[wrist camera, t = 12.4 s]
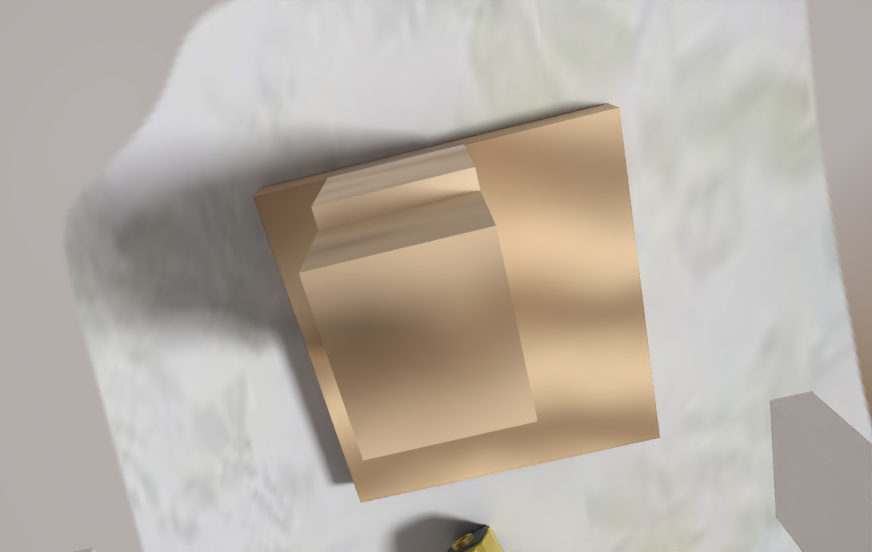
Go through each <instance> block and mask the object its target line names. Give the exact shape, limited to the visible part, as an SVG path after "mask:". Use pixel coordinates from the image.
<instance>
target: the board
mask: <svg viewBox="0 0 872 552" xmlns="http://www.w3.org/2000/svg"><path fill="white" fill-rule="evenodd" d="M459 142H463V143H464V145H465V147H466V149H467V151H468V153H469V155H470V157H471V159H472V161H473V163H474V165H475V168H476V173H477V177H478V182H479V187H480V191H481V193H482V195H483V198H484V200H485V202H486V204H487V206H488V209H489V211H490V213H491V215H492V218H493V220H494V222H495V224H496V228H497V232H498V237H499V242H500V247H501V251H502V256H503V261H504V265H505V270H506V275H507V279H508V284H509V289H510V294H511V298H512V303H513V308H514V312H515V317H516V322H517V327H518V331H519V336H520V341H521V345H522V350H523V355H524V360H525V364H526V369H527V374H528V378H529V383H530V388H531V393H532V397H533V402H534V407H535V411H536V416H537V422H533V423H528V424H524V425H519V426H515V427H510V428H506V429H501V430H497V431H492V432H488V433H483V434H479V435H475V436H470V437H466V438H461V439H457V440H452V441H448V442H443V443H439V444H434V445H430V446H425V447H421V448H417V449H412V450H408V451H403V452H399V453H394V454H390V455H385V456H381V457H376V458H372V459H368V460H363V458H362V455H361V452H360V450H359V447H358V444H357V441H356V438H355V435H354V432H353V429H352V426H351V423H350V420H349V418H348V415H347V412H346V409H345V406H344V403H343V400H342V397H341V394H340V391H339V389H338V386H337V383H336V380H335V377H334V374H333V371H332V368H331V365H330V362H329V359H328V357H327V354H326V351H325V348H324V345H323V342H322V339H321V336H320V333H319V330H318V327H317V325H316V322H315V319H314V316H313V313H312V310H311V307H310V304H309V301H308V298H307V296H306V293H305V290H304V287H303V284H302V281H301V278H300V275H299V271H300V269H301V267H302V265H303V263H304V261H305V258H306V256H307V254H308V252H309V250H310V247H311V245H312V243H313V241H314V239H315V237H316V234H317V232H318V227H317V224H316V220H315V217H314V214H313V211H312V208H311V207H312V205H313V203H314V201H315V199H316V198H317V196H318V194H319V192H320V190H321V189H322V187H323V185H324V183H325V182H326V180H327V178H328V176H329V175H330V174H334V173H338V172H342V171H346V170H350V169H354V168H358V167H363V166H367V165H371V164H375V163H379V162H383V161H387V160H391V159H395V158H399V157H403V156H407V155H411V154H415V153H419V152H423V151H427V150H431V149H435V148H439V147H443V146H447V145H451V144H455V143H459ZM253 197H254V200H255V203H256V206H257V209H258V212H259V214H260V217H261V220H262V223H263V226H264V229H265V232H266V234H267V237H268V240H269V243H270V246H271V249H272V251H273V254H274V257H275V260H276V263H277V266H278V269H279V271H280V274H281V277H282V280H283V283H284V286H285V288H286V291H287V294H288V297H289V300H290V303H291V306H292V308H293V311H294V314H295V317H296V320H297V323H298V325H299V328H300V331H301V334H302V337H303V340H304V343H305V345H306V348H307V351H308V354H309V357H310V360H311V362H312V365H313V368H314V371H315V374H316V377H317V380H318V382H319V385H320V388H321V391H322V394H323V397H324V399H325V402H326V405H327V408H328V411H329V414H330V417H331V419H332V422H333V425H334V428H335V431H336V434H337V436H338V439H339V442H340V445H341V448H342V451H343V454H344V456H345V459H346V462H347V465H348V468H349V471H350V473H351V476H352V479H353V482H354V485H355V488H356V491H357V493H358V496H359V499H360V502H361V503H362V502H366V501H371V500H375V499H380V498H385V497H389V496H394V495H398V494H403V493H408V492H412V491H417V490H421V489H426V488H431V487H435V486H440V485H444V484H449V483H454V482H458V481H463V480H467V479H472V478H477V477H481V476H486V475H490V474H495V473H500V472H504V471H509V470H513V469H518V468H523V467H527V466H532V465H536V464H541V463H546V462H550V461H555V460H559V459H564V458H569V457H573V456H578V455H582V454H587V453H592V452H596V451H601V450H605V449H610V448H615V447H619V446H624V445H628V444H633V443H638V442H642V441H647V440H651V439H656V438H660V435H659V427H658V419H657V411H656V403H655V395H654V387H653V379H652V370H651V362H650V354H649V346H648V338H647V330H646V322H645V314H644V306H643V297H642V289H641V281H640V273H639V265H638V257H637V249H636V241H635V232H634V224H633V216H632V208H631V200H630V192H629V184H628V176H627V167H626V159H625V151H624V143H623V135H622V127H621V119H620V111H619V107H616V106H613V105H611V104H604V105H600V106H596V107H592V108H588V109H583V110H579V111H575V112H571V113H567V114H563V115H559V116H555V117H551V118H546V119H542V120H538V121H534V122H530V123H526V124H522V125H518V126H514V127H510V128H505V129H501V130H497V131H493V132H489V133H485V134H481V135H477V136H473V137H468V138H464V139H460V140H456V141H452V142H448V143H444V144H440V145H436V146H432V147H427V148H423V149H419V150H415V151H411V152H407V153H403V154H399V155H395V156H390V157H386V158H382V159H378V160H374V161H370V162H366V163H362V164H358V165H354V166H349V167H345V168H341V169H337V170H333V171H329V172H325V173H321V174H317V175H312V176H308V177H304V178H300V179H296V180H292V181H288V182H284V183H280V184H276V185H271V186H267V187H263V188H261V189H260V190H259V191H258V192H257V193H256V194H255V195H254V196H253Z"/></svg>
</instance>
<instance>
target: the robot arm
mask: <svg viewBox="0 0 872 552" xmlns="http://www.w3.org/2000/svg"><path fill="white" fill-rule="evenodd" d="M770 411H771V431H772V450H773V469H774V489H775V508H776V518H777V519H778V520H779V522H780V523H781V524H782V525H783V527H784V528H785V529H786V531H787V532H788V533H789V535H790V536H791V537H792V539H793V540H794V541H795V542H796V544H797V545H798V546H799V548H800V549H801V550H802V552H872V444H871V443H870V442H869V441H868V440H867V439H865V438H864V437H863V436H862V435H861V434H860V433H859V432H857V431H856V430H855V429H854V428H853V427H852V426H851V425H849V424H848V423H847V422H846V421H845V420H844V419H843V418H841V417H840V416H839V415H838V414H837V413H836V412H835V411H834V410H832V409H831V408H830V407H829V406H828V405H827V404H826V403H824V402H823V401H822V400H821V399H820V398H819V397H818V396H816V395H815V394H814V393H813V392H812V391H811V392H807V393H802V394H797V395H793V396H788V397H784V398H779V399H774V400H770ZM76 552H95V550H94V549H93V548H90V549H85V550H80V551H76Z"/></svg>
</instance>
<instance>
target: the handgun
mask: <svg viewBox="0 0 872 552" xmlns="http://www.w3.org/2000/svg"><path fill="white" fill-rule="evenodd" d="M451 546H452V547H450V549H449V550H448V551H447V552H503V550H502V548H501V546H500V544H499V542H498V540H497V539H496V537H495V535H494V533H493V531H492V529H491V528H490V527H487V525H485V526H483V527H482V528H480V529H478V530H476V531H474V532H472V533H470V534H467V535H465V536H463V537H461V538H460V539H458V540H457V541H455V542H454V543H453V544H452V545H451Z"/></svg>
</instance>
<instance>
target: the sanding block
mask: <svg viewBox="0 0 872 552" xmlns="http://www.w3.org/2000/svg"><path fill="white" fill-rule="evenodd" d="M311 208H312V211H313V214H314V217H315V220H316V224H317V227H318V232H317V234H316V237H315V239H314V241H313V243H312V245H311V247H310V250H309V252H308V254H307V256H306V258H305V261H304V263H303V265H302V267H301V269H300V271H299V275H300V278H301V281H302V284H303V287H304V290H305V293H306V296H307V298H308V301H309V304H310V307H311V310H312V313H313V316H314V319H315V322H316V325H317V327H318V330H319V333H320V336H321V339H322V342H323V345H324V348H325V351H326V354H327V357H328V359H329V362H330V365H331V368H332V371H333V374H334V377H335V380H336V383H337V386H338V389H339V391H340V394H341V397H342V400H343V403H344V406H345V409H346V412H347V415H348V418H349V420H350V423H351V426H352V429H353V432H354V435H355V438H356V441H357V444H358V447H359V450H360V452H361V455H362V458H363V460H368V459H372V458H376V457H381V456H385V455H390V454H394V453H399V452H403V451H408V450H412V449H417V448H421V447H425V446H430V445H434V444H439V443H443V442H448V441H452V440H457V439H461V438H466V437H470V436H475V435H479V434H483V433H488V432H492V431H497V430H501V429H506V428H510V427H515V426H519V425H524V424H528V423H533V422H537V416H536V411H535V407H534V402H533V397H532V393H531V388H530V383H529V378H528V374H527V369H526V364H525V360H524V355H523V350H522V345H521V341H520V336H519V331H518V327H517V322H516V317H515V312H514V308H513V303H512V298H511V294H510V289H509V284H508V279H507V275H506V270H505V265H504V261H503V256H502V251H501V247H500V242H499V237H498V232H497V228H496V224H495V222H494V220H493V218H492V215H491V213H490V211H489V209H488V206H487V204H486V202H485V200H484V198H483V195H482V193H481V191H480V187H479V182H478V177H477V173H476V168H475V165H474V163H473V161H472V159H471V157H470V155H469V153H468V151H467V149H466V147H465V145H464V143H463V142H459V143H455V144H451V145H447V146H443V147H439V148H435V149H431V150H427V151H423V152H419V153H415V154H411V155H407V156H403V157H399V158H395V159H391V160H387V161H383V162H379V163H375V164H371V165H367V166H363V167H358V168H354V169H350V170H346V171H342V172H338V173H334V174H330V175H329V176H328V178H327V180H326V182H325V183H324V185H323V187H322V189H321V190H320V192H319V194H318V196H317V198H316V199H315V201H314V203H313V205H312V207H311Z"/></svg>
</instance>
